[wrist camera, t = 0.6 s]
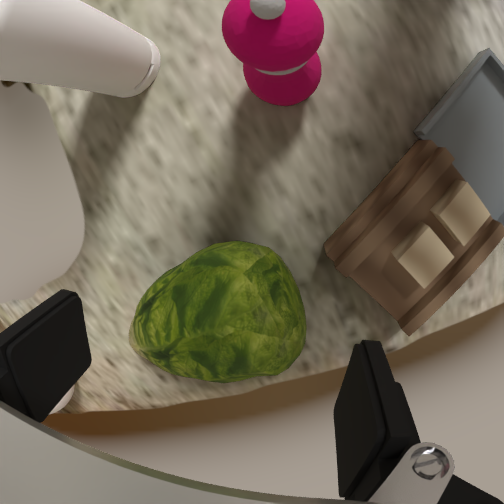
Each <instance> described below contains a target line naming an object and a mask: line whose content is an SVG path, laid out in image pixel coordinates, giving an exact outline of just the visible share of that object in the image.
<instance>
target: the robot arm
mask: <svg viewBox="0 0 504 504" xmlns="http://www.w3.org/2000/svg"><path fill="white" fill-rule="evenodd" d="M91 360H92V359H91V353H90V348H89V343H88V338H87V332H86V326H85V321H84V314H83V308H82V301H81V299H80V298H79V296H78V294H77V293H76V292H72V291H68V290H65V289H62V290H60V291H59V292H57V293H56V294H54V295H53V296H51V297H50V298H48V299H47V300H46V301H44V302H43V303H41V304H40V305H38V306H37V307H36V308H34V309H33V310H31V311H30V312H29V313H27V314H26V315H24V316H23V317H22V318H20V319H19V320H18V321H16V322H15V323H13V324H12V325H11V326H9V327H8V328H7V329H5V330H4V331H3V332H1V333H0V504H504V503H503V502H502V501H500V500H499V499H498V498H496V497H493V496H492V495H490V494H488V493H486V492H484V491H482V490H480V489H479V488H477V487H475V486H473V485H471V484H470V483H468V482H466V481H464V480H462V479H461V478H459V477H457V476H455V475H453V471H454V468H455V467H454V460H453V458H452V456H451V454H450V453H449V452H448V451H447V450H446V449H445V448H443V447H442V446H440V445H437V444H435V443H428V442H424V443H421V442H420V439H419V436H418V432H417V430H416V426H415V424H414V420H413V417H412V414H411V412H410V408H409V406H408V403H407V400H406V397H405V394H404V391H403V389H402V386H401V384H400V383H398V382H395V381H394V378H393V375H392V372H391V369H390V366H389V364H388V361H387V358H386V355H385V353H384V350H383V347H382V345H381V343H380V341H370V340H362V341H361V343H360V344H355V346H354V348H353V352H352V355H351V358H350V361H349V365H348V368H347V371H346V374H345V377H344V380H343V383H342V386H341V389H340V392H339V395H338V398H337V400H336V403H335V407H334V425H335V438H336V451H337V452H336V453H337V468H338V486H339V496H340V497H345V500H335V499H322V498H306V497H293V496H284V495H275V494H267V493H259V492H253V491H246V490H240V489H234V488H228V487H223V486H217V485H213V484H207V483H203V482H199V481H194V480H190V479H186V478H182V477H178V476H175V475H171V474H167V473H164V472H160V471H157V470H154V469H150V468H147V467H144V466H141V465H138V464H135V463H132V462H129V461H126V460H123V459H120V458H118V457H115V456H112V455H110V454H107V453H104V452H102V451H99V450H97V449H94V448H92V447H90V446H87V445H85V444H82V443H80V442H78V441H75V440H73V439H71V438H69V437H67V436H65V435H63V434H61V433H58V432H56V431H54V430H52V429H50V428H48V427H46V426H44V425H42V424H41V422H43V421H44V420H45V418H46V417H47V416H48V415H49V413H50V412H51V411H52V410H53V409H54V408H55V406H56V405H57V404H58V403H59V402H60V400H61V399H62V398H63V397H64V396H65V394H66V393H67V392H68V391H69V390H70V389H71V387H72V386H73V385H74V384H75V383H76V382H77V380H78V379H79V378H80V377H81V376H82V375H83V374H84V372H85V371H86V370H87V369H88V368H89V366H90V364H91Z"/></svg>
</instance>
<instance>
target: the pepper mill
mask: <svg viewBox="0 0 504 504" xmlns="http://www.w3.org/2000/svg"><path fill="white" fill-rule="evenodd" d="M222 33H223V37H224V40H225V42H226V44H227V46H228V48H229V49H230V51H231V52H232V53H233V54H234V55H235V56H236V57H237V58H238V59H239V60H240V61H241V62H243V72H244V76H245V80H246V82H247V84H248V87H249V88H250V89H251V91H252V92H253V93H254V94H255V95H256V96H257V97H259V98H260V99H262V100H264V101H265V102H268V103H271V104H275V105H280V106H290V105H294V104H297V103H299V102H301V101H303V100H305V99H306V98H308V97H309V96H310V95H311V94H312V93H313V92H314V91H315V90H316V88H317V86H318V84H319V82H320V78H321V63H320V59H319V56H318V54H317V52H316V51H317V50H318V48H319V46H320V44H321V42H322V39H323V35H324V22H323V17H322V14H321V11H320V9H319V8H318V6H317V4H316V3H315V2H314V0H231V1H230V2H229V4H228V5H227V7H226V9H225V11H224V14H223V18H222Z"/></svg>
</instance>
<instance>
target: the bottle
mask: <svg viewBox="0 0 504 504" xmlns="http://www.w3.org/2000/svg"><path fill="white" fill-rule="evenodd" d="M150 65H151V66H150ZM149 67H150V69H149ZM159 68H160V54H159V50H158V48H157V46H156V45H155V44H154V42H152V41H151V40H149V39H148V38H146V37H144V36H143V35H141V34H139V33H138V32H136V31H134V30H133V29H131V28H129V27H128V26H126V25H124V24H122V23H121V22H119V21H117V20H115V19H114V18H112V17H110V16H108V15H106V14H105V13H103V12H101V11H99V10H97V9H95V8H93V7H91V6H90V5H88V4H86V3H84V2H82V1H80V0H0V80H6V81H17V82H27V83H36V84H44V85H52V86H59V87H66V88H72V89H79V90H85V91H90V92H96V93H101V94H107V95H112V96H117V97H122V98H127V97H133V96H135V95H138V94H140V93H142V92H143V91H144V90H145V89H147V88H148V87H149V86H150V85H151V83H152V82H153V81H154V79H155V78H156V76H157V73H158V70H159ZM148 70H149V72H148ZM147 73H148V74H147ZM146 74H147V75H146ZM145 76H146V77H145ZM144 77H145V78H144ZM143 79H144V80H143ZM142 80H143V81H142ZM138 84H139V85H138ZM137 85H138V86H137ZM136 86H137V87H136Z"/></svg>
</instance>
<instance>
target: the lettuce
mask: <svg viewBox="0 0 504 504" xmlns="http://www.w3.org/2000/svg"><path fill="white" fill-rule="evenodd" d="M305 339H306V318H305V310H304V306H303V302H302V299H301V295H300V292H299V289H298V287H297V285H296V282H295V280H294V278H293V276H292V274H291V272H290V270H289V269H288V267H287V266H286V265H285V263H284V262H283V260H282V259H281V257H280V256H278V255H277V254H276V253H275V252H274V251H272V250H271V249H270V248H269V247H265V246H261V245H257V244H253V243H249V242H242V241H231V242H224V243H217V244H213V245H211V246H209V247H207V248H205V249H203V250H201V251H199V252H197V253H195V254H194V255H192V256H191V257H190V258H188V259H187V260H186V261H184V262H183V263H182V264H180V265H178V266H176V267H174V268H173V269H171V270H169V271H167V272H166V273H164V274H163V275H162V276H161V277H160V278H158V279H157V280H156V281H155V282H154V283H153V284H152V286H151V287H150V288H149V289H148V290H147V291H146V293H145V294H144V295H143V297H142V298H141V300H140V302H139V304H138V306H137V309H136V313H135V316H134V319H133V321H132V323H131V326H130V330H129V343H130V345H131V347H132V348H133V349H134V351H135V352H136V353H137V354H139V355H140V356H142V357H143V358H145V359H147V360H149V361H150V362H152V363H153V364H155V365H156V366H158V367H159V368H161V369H162V370H164V371H166V372H169V373H171V374H174V375H178V376H182V377H189V378H196V379H201V380H205V381H211V382H219V383H229V382H235V381H241V380H245V379H248V378H252V377H255V376H272V375H278V374H280V373H281V372H283V371H285V370H286V369H288V368H289V367H290V366H291V364H292V363H293V362H294V361H295V360H296V359H297V357H298V356H299V355H300V353H301V351H302V349H303V347H304V344H305Z"/></svg>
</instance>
